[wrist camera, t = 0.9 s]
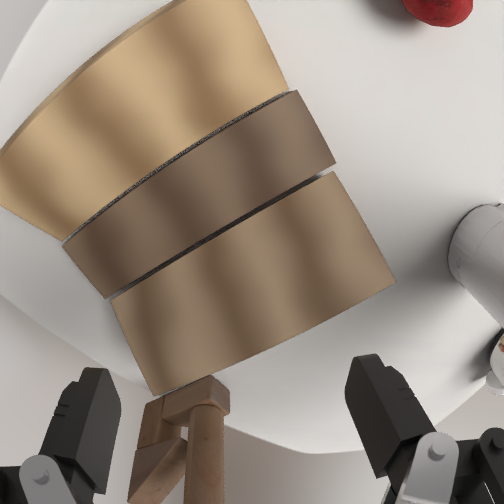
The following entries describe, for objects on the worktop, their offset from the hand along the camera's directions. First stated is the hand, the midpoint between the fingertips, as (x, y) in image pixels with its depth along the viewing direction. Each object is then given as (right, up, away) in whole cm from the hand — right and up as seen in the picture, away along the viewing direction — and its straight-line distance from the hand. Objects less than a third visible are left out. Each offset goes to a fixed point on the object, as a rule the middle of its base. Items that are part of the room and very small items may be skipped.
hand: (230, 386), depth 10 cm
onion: (+14, +25, +9) cm, 30 cm away
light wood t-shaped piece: (-7, -13, +25) cm, 29 cm away
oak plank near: (-8, +13, +9) cm, 18 cm away
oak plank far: (0, +1, +15) cm, 15 cm away
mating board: (-4, +9, +15) cm, 18 cm away
